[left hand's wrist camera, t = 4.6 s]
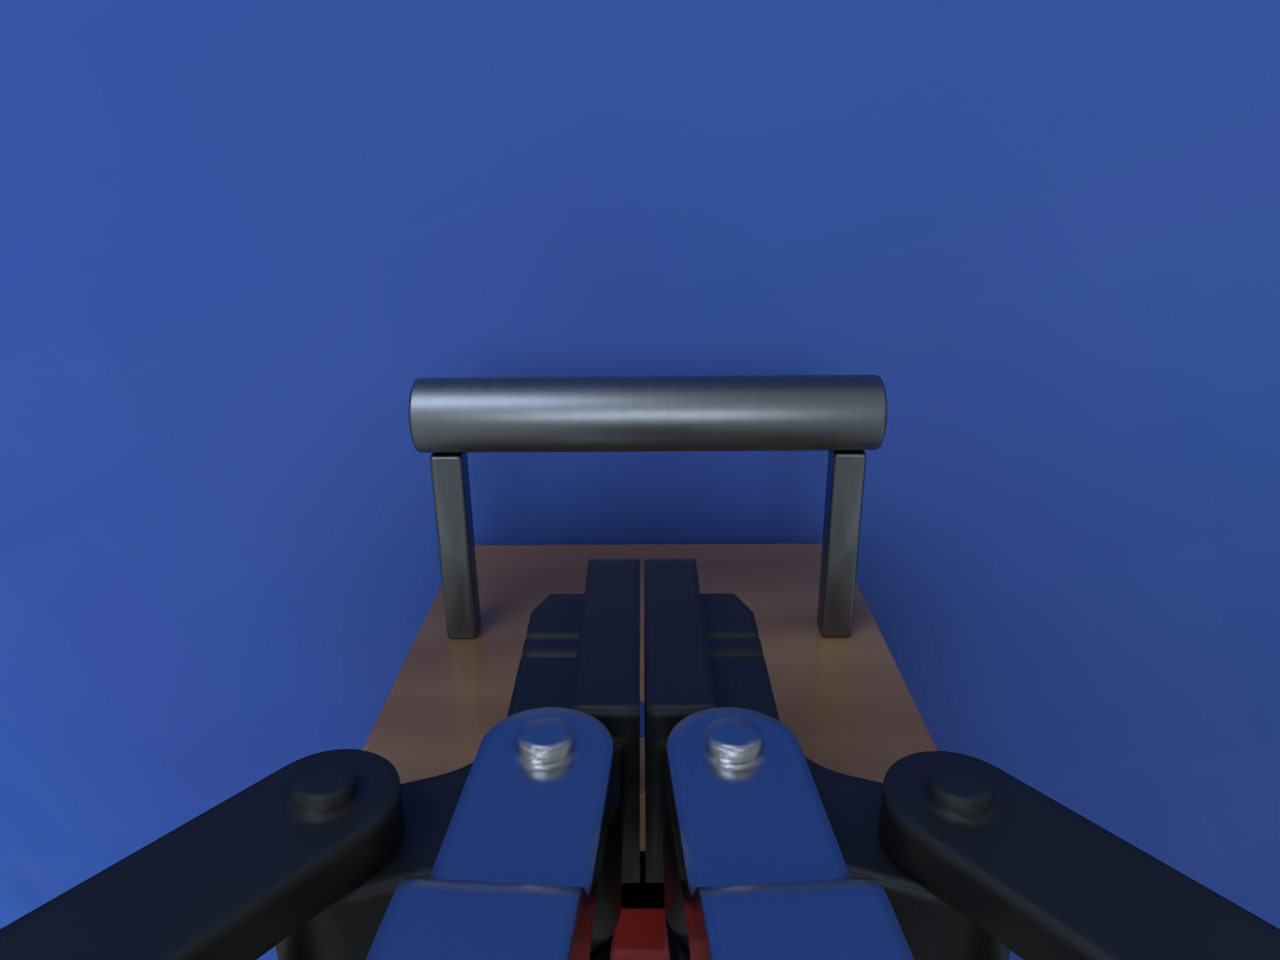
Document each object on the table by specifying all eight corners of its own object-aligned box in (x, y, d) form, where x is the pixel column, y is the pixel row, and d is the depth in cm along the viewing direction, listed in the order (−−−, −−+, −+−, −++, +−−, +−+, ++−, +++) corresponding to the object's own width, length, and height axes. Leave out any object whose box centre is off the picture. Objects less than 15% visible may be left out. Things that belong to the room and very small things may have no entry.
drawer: (440, 333, 20) (286, 467, 12) (855, 330, 20) (1010, 463, 11) (503, 1033, 28) (439, 1420, 19) (800, 1034, 28) (867, 1423, 19)
